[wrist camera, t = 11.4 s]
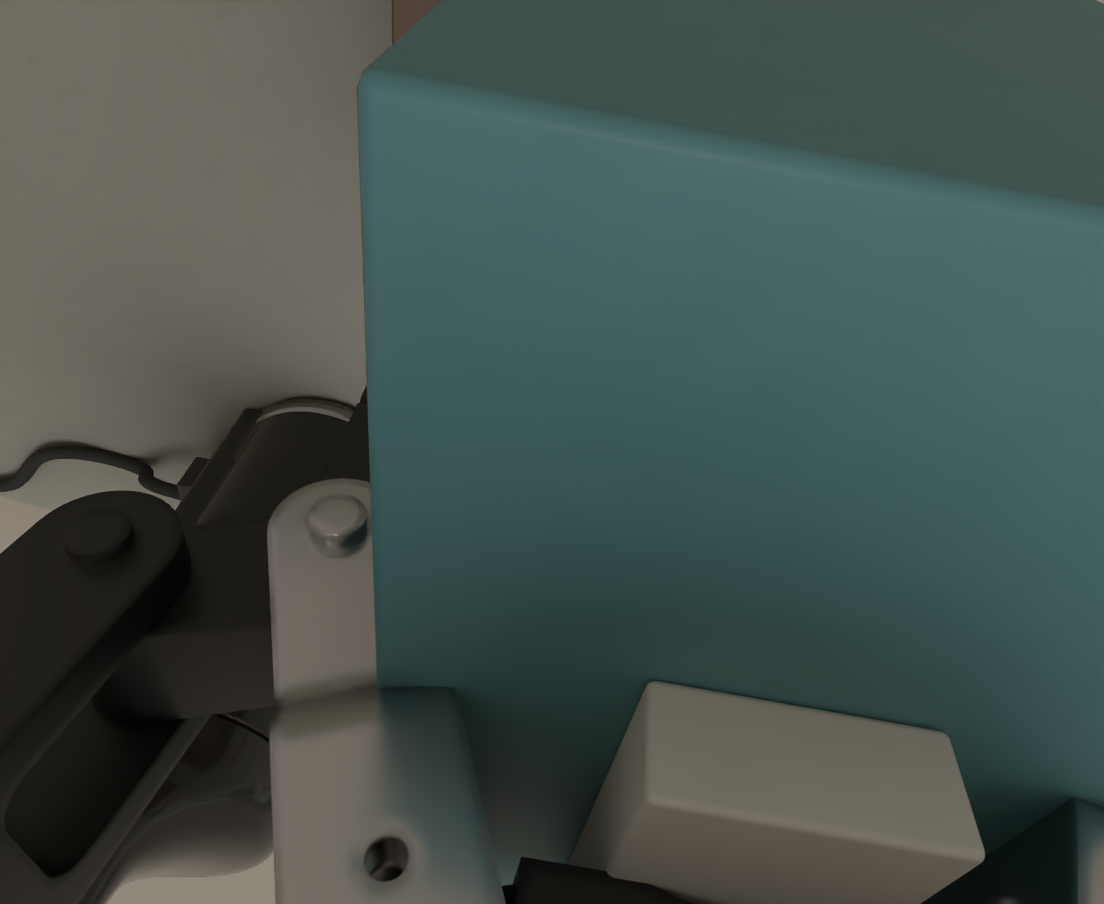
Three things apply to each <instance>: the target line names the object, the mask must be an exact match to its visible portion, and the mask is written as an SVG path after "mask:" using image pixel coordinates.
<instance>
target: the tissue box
mask: <svg viewBox="0 0 1104 904" xmlns="http://www.w3.org/2000/svg"><path fill="white" fill-rule="evenodd" d="M357 104H358V134H359V163H360V193H361V223H362V253H363V283H364V313H365V343H366V373H367V403H368V433H369V463H370V493H371V522H372V552H373V582H374V612H375V642H376V672H377V689H382V688H391V687H409V686H428V687H450V688H454V689H455V692H456V695H457V698H458V702H459V706H460V710H461V714H462V718H463V722H464V727H465V731H466V735H467V740H468V744H469V748H470V752H471V757H472V761H473V765H474V770H475V774H476V778H477V782H478V787H479V791H480V795H481V800H482V804H483V808H484V812H485V817H486V821H487V825H488V830H489V834H490V838H491V842H492V847H493V851H494V855H495V860H496V864H497V868H498V873H499V877H500V881H501V885H502V886H504V885H511V884H513V881H514V878H515V875H516V871H517V868H518V865H519V862H520V859H521V857H527V858H533V859H539V860H545V861H550V862H556V863H562V864H568V865H574V866H580V867H585V868H591V869H597V870H603V871H607V874H609V875H610V876H612V877H613V878H618V879H624V880H630V881H636V882H641V883H647V884H651V885H653V886H655V887H657V888H659V889H662V890H664V891H666V892H668V893H670V894H672V895H674V896H676V897H679V898H681V899H683V900H685V901H687V902H689V903H691V904H921V903H922V902H924V901H925V900H927V899H928V898H930V897H931V896H933V895H934V894H936V893H937V892H939V891H940V890H942V889H943V888H945V887H946V886H948V885H949V884H950V883H952V882H953V881H955V880H956V879H958V878H959V877H961V876H962V875H964V874H965V873H967V872H968V871H970V870H971V869H973V868H974V867H976V866H977V865H979V864H980V863H982V862H983V861H984V858H985V856H987V855H988V854H989V853H991V852H992V851H994V850H995V849H997V848H998V847H1000V846H1001V845H1003V844H1004V843H1006V842H1007V841H1009V840H1010V839H1012V838H1013V837H1015V836H1016V835H1018V834H1019V833H1021V832H1022V831H1024V830H1025V829H1027V828H1028V827H1030V826H1031V825H1033V824H1034V823H1035V822H1037V821H1038V820H1040V819H1041V818H1043V817H1044V816H1046V815H1047V814H1049V813H1050V812H1052V811H1053V810H1055V809H1056V808H1058V807H1059V806H1061V805H1062V804H1064V803H1065V802H1067V801H1068V800H1070V799H1071V798H1073V797H1076V798H1080V799H1083V800H1086V801H1089V802H1092V803H1094V804H1097V805H1100V806H1103V807H1104V4H1102V3H1100V2H1098V1H1096V0H441V1H440V2H439V3H438V4H437V5H436V6H435V7H434V8H433V9H431V10H430V11H429V12H428V13H427V14H426V15H425V16H424V17H423V18H421V19H420V20H419V21H418V22H417V23H416V24H415V25H414V26H413V27H411V28H410V29H409V30H408V31H407V32H406V33H405V34H404V35H403V36H402V37H400V38H399V39H398V40H397V41H396V42H395V43H394V44H393V45H392V46H390V47H389V48H388V49H387V50H386V51H385V52H384V53H383V54H382V55H380V56H379V57H378V58H377V59H376V60H375V61H374V62H373V63H372V64H370V65H369V66H368V67H367V68H366V69H365V70H364V71H363V72H362V75H361V78H360V80H359V83H358V85H357Z"/></svg>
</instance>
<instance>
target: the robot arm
mask: <svg viewBox="0 0 1104 904" xmlns="http://www.w3.org/2000/svg"><path fill="white" fill-rule="evenodd" d="M54 459H79V460H87V461H93V462H99V463H103V464H108V465H112V466H115V467H119V468H122V469H125V470H128V471H130V472H133V473H135V474H138V475H139V478H138V481H139V483H140V484H141V485H142V486H143V487H144V488H146V489H148V490H150V491H152V492H155V493H157V494H160V495H164V496H167V497H171V498H174V499H178V500H181V502H180V504H179V505H178V507H177V508H176V510H174V509H173V508H172V507H171V506H170V505H169V504H167V503H166V502H165V501H163V500H162V499H160V498H157V497H155V496H153V495H150V494H146V493H142V492H135V491H109V492H101V493H96V494H92V495H87V496H84V497H81V498H78V499H75V500H73V501H71V502H68V503H66V504H64V505H62V506H60V507H58V508H57V509H55V510H53V511H52V512H50V513H48V514H47V515H46V516H44V517H43V518H42V519H40V520H39V521H38V522H37V523H36V524H35V525H33V526H32V527H31V528H30V529H29V530H28V531H26V532H25V533H24V534H23V535H22V536H21V537H19V538H18V539H17V540H16V541H15V542H14V543H12V544H11V545H10V546H9V547H8V548H7V549H6V550H4V551H3V552H2V553H1V554H0V904H107V903H108V901H109V900H110V899H111V897H112V896H113V895H114V893H115V892H116V891H117V890H118V889H119V888H120V887H121V886H122V885H124V884H126V883H129V882H132V881H135V880H139V879H144V878H150V877H208V876H221V875H228V874H234V873H238V872H241V871H244V870H248V869H251V868H254V867H256V866H258V865H259V864H261V863H263V862H264V861H265V860H267V859H268V858H269V857H270V856H271V855H272V853H273V852H274V872H275V897H276V904H691V903H689V902H687V901H685V900H683V899H681V898H679V897H676V896H674V895H672V894H670V893H668V892H666V891H664V890H662V889H659V888H657V887H655V886H653V885H651V884H647V883H641V882H636V881H630V880H624V879H618V878H613V877H612V876H610V875H609V874H607V871H603V870H597V869H591V868H585V867H580V866H574V865H568V864H562V863H556V862H550V861H545V860H539V859H533V858H527V857H521V859H520V862H519V865H518V868H517V871H516V875H515V878H514V881H513V884H511V885H504V886H502V885H501V881H500V877H499V873H498V868H497V864H496V860H495V855H494V851H493V847H492V842H491V838H490V834H489V830H488V825H487V821H486V817H485V812H484V808H483V804H482V800H481V795H480V791H479V787H478V782H477V778H476V774H475V770H474V765H473V761H472V757H471V752H470V748H469V744H468V740H467V735H466V731H465V727H464V722H463V718H462V714H461V710H460V706H459V702H458V698H457V695H456V692H455V689H454V688H450V687H428V686H409V687H391V688H382V689H377V672H376V642H375V612H374V582H373V552H372V522H371V493H370V463H369V433H368V403H367V386H366V388H365V390H364V392H363V394H362V396H361V400H360V403H358V404H357V406H356V408H355V410H354V409H352V408H349V407H346V406H344V405H341V404H337V403H334V402H329V401H325V400H318V399H294V400H288V401H283V402H280V403H277V404H275V405H272V406H270V407H268V408H267V409H265V410H264V411H256V410H250V409H245V410H243V412H242V413H241V415H240V416H239V417H238V419H237V420H236V422H235V423H234V425H233V426H232V428H231V429H230V431H229V432H228V434H227V435H226V437H225V438H224V439H223V441H222V442H221V444H220V445H219V447H218V448H217V450H216V451H215V453H214V454H213V456H212V457H211V459H207V458H202V457H196V458H195V460H194V461H193V463H192V464H191V465H190V467H189V468H188V470H187V471H186V472H185V474H184V475H183V477H182V478H181V480H180V481H179V482H178V484H177V485H175V484H171V483H168V482H165V481H162V480H159V479H157V478H155V477H154V471H153V469H152V468H151V467H150V466H149V465H148V464H146V463H143V462H141V461H138V460H135V459H133V458H129V457H126V456H123V455H119V454H116V453H112V452H108V451H103V450H98V449H92V448H85V447H73V446H57V447H48V448H43V449H41V450H38V451H36V452H35V453H33V454H32V455H31V456H30V457H29V458H28V459H27V460H26V461H25V462H24V463H23V465H22V466H21V468H20V469H19V471H18V472H17V473H16V475H15V476H13V477H11V478H9V479H4V480H0V492H6V491H12V490H15V489H18V488H20V487H21V486H23V485H24V484H25V483H26V482H28V481H29V480H30V478H31V477H32V476H33V474H34V473H35V472H36V470H37V469H38V467H39V466H40V465H41V464H43V463H44V462H47V461H49V460H54ZM921 904H1104V807H1103V806H1100V805H1097V804H1094V803H1092V802H1089V801H1086V800H1083V799H1080V798H1076V797H1073V798H1071V799H1070V800H1068V801H1067V802H1065V803H1064V804H1062V805H1061V806H1059V807H1058V808H1056V809H1055V810H1053V811H1052V812H1050V813H1049V814H1047V815H1046V816H1044V817H1043V818H1041V819H1040V820H1038V821H1037V822H1035V823H1034V824H1033V825H1031V826H1030V827H1028V828H1027V829H1025V830H1024V831H1022V832H1021V833H1019V834H1018V835H1016V836H1015V837H1013V838H1012V839H1010V840H1009V841H1007V842H1006V843H1004V844H1003V845H1001V846H1000V847H998V848H997V849H995V850H994V851H992V852H991V853H989V854H988V855H987V856H985V858H984V861H983V862H982V863H980V864H979V865H977V866H976V867H974V868H973V869H971V870H970V871H968V872H967V873H965V874H964V875H962V876H961V877H959V878H958V879H956V880H955V881H953V882H952V883H950V884H949V885H948V886H946V887H945V888H943V889H942V890H940V891H939V892H937V893H936V894H934V895H933V896H931V897H930V898H928V899H927V900H925V901H924V902H922V903H921Z"/></svg>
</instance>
